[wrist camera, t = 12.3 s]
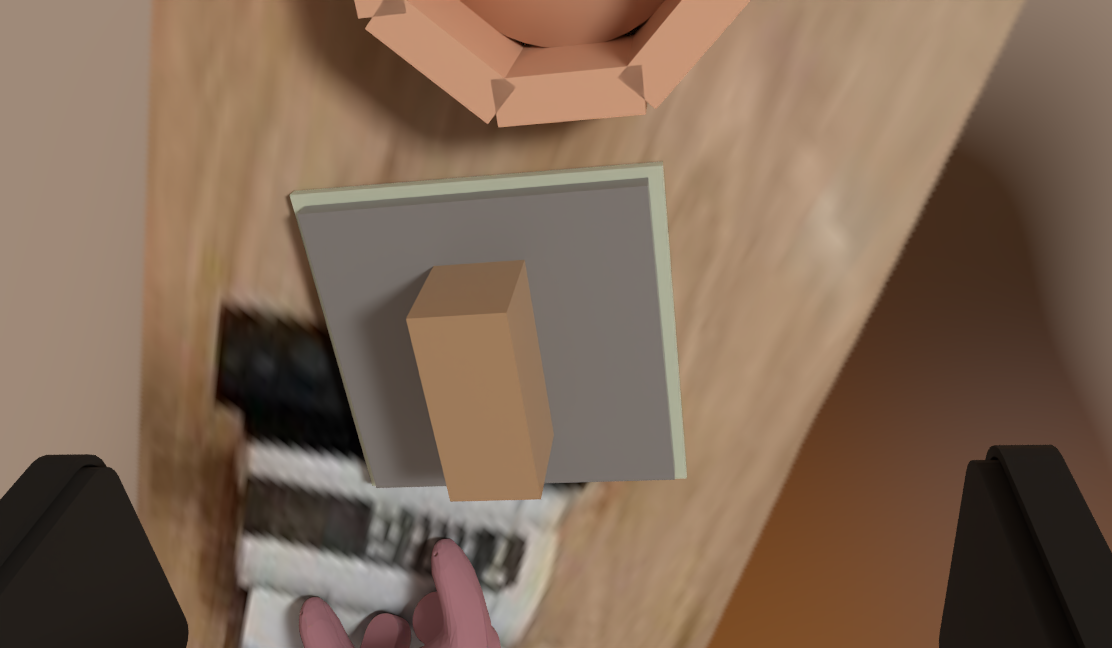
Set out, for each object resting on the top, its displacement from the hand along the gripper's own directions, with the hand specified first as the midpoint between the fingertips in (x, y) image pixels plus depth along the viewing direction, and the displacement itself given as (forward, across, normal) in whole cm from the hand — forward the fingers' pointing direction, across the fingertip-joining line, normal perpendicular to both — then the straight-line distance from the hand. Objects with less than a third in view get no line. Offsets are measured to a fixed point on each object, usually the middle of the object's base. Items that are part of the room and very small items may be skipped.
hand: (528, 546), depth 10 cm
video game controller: (+23, +13, +28) cm, 38 cm away
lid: (+23, +6, +13) cm, 27 cm away
